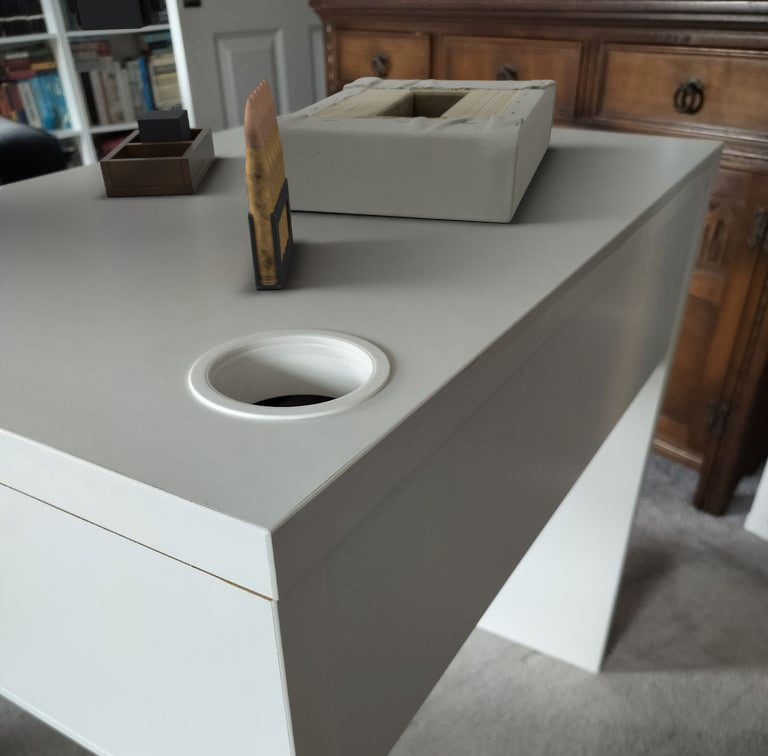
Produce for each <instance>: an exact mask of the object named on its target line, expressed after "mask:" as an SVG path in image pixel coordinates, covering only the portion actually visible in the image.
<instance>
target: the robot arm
mask: <svg viewBox="0 0 768 756" xmlns="http://www.w3.org/2000/svg"><path fill="white" fill-rule="evenodd" d="M139 1H140V7H141V12H142V18H143V22H144V23H145V24H146V25H149V26H153V25H156V24H158V23H160V21H161V18H160V12H161V13H162V12H164V11H165V1H164V0H139ZM66 3H67V7H68V8H67V9H68V11H69V13H70V14H71V15H75V18H76V23H77V26H78V27H79V28H80V27H82V23H81V18H80V13H79V8H78V4H77V0H66ZM82 28H83V27H82Z"/></svg>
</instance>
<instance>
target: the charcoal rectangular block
mask: <svg viewBox="0 0 768 756" xmlns="http://www.w3.org/2000/svg"><path fill="white" fill-rule="evenodd" d="M136 122H137V127H138V128H137V129H138V130H139V134H140V139H141V143H151V142H179V141H192V137H191V131H190V128H191V126H190V124H191V123H190V119H189V112H188V109H164V110H163V109H159V110H146V112H144V113H143V114H141V116H139V117H138V118H137V119H136Z"/></svg>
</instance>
